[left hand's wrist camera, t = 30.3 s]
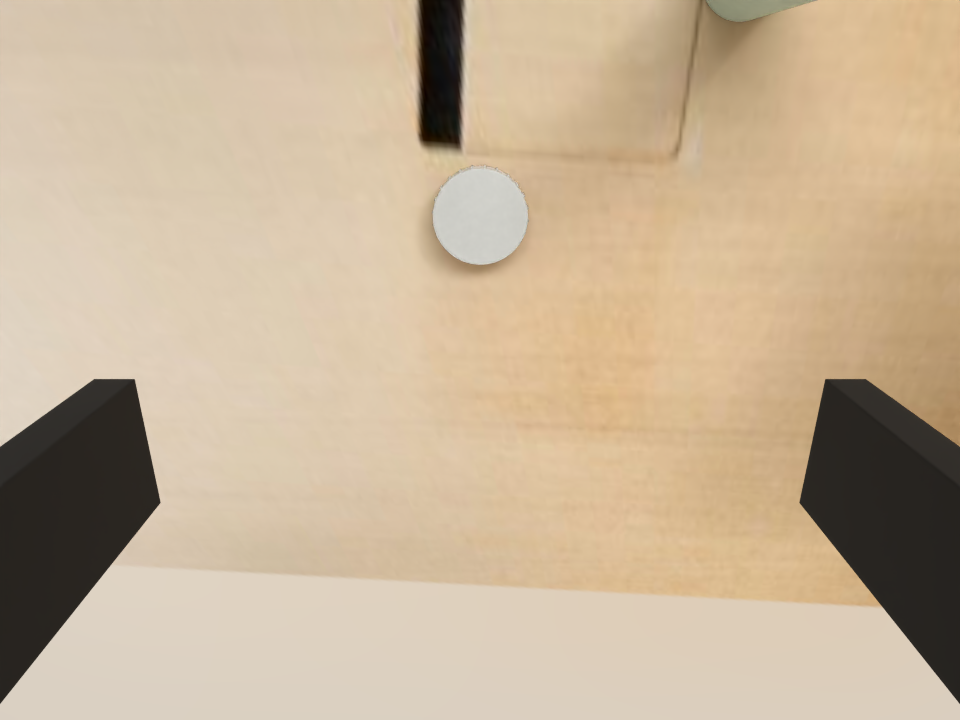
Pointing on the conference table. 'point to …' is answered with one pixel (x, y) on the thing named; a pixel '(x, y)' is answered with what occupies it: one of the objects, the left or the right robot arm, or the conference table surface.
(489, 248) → the lid
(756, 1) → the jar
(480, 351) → the conference table surface
